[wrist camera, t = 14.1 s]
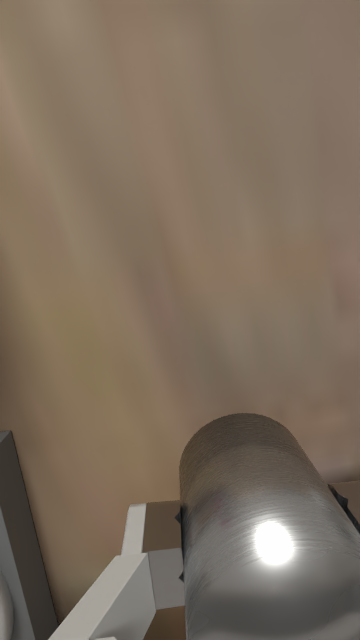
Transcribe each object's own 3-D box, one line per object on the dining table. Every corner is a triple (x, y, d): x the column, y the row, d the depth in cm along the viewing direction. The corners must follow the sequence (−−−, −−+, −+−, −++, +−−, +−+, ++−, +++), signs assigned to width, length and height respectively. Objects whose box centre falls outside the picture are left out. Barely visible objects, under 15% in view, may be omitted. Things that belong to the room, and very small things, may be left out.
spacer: (302, 406, 11) (415, 538, 6) (303, 515, 12) (401, 709, 7) (173, 419, 11) (176, 563, 6) (184, 528, 11) (195, 731, 7)
